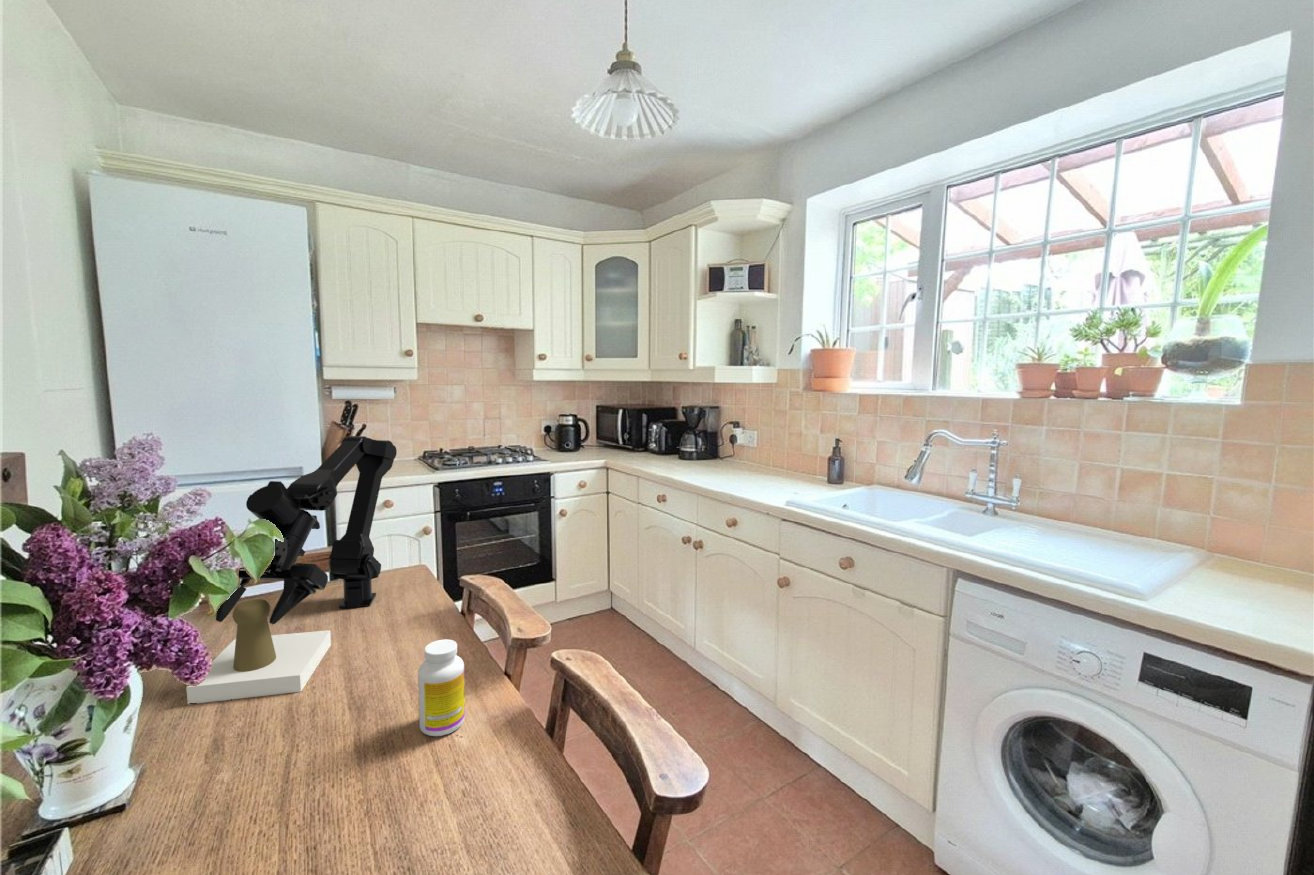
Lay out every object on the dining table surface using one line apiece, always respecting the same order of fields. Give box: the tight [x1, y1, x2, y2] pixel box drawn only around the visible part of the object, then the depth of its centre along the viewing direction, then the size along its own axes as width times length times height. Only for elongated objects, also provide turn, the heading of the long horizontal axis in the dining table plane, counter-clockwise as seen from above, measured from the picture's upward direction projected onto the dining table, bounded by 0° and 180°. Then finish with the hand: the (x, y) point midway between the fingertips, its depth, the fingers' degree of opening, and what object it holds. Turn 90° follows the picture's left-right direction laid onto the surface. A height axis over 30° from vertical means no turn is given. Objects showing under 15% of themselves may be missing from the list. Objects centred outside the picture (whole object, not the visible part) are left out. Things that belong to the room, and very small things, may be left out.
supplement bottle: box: [417, 638, 466, 737], centre depth 82 cm, size 7×7×13 cm
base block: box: [185, 629, 332, 704], centre depth 95 cm, size 16×16×3 cm
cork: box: [232, 598, 276, 672], centre depth 92 cm, size 6×6×11 cm
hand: (245, 622), depth 91 cm, fingers open, 9 cm apart
